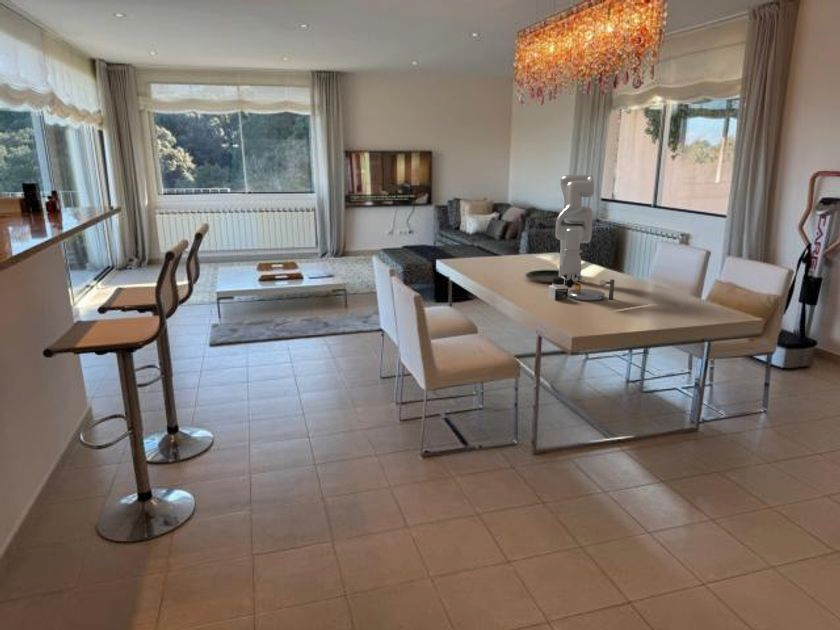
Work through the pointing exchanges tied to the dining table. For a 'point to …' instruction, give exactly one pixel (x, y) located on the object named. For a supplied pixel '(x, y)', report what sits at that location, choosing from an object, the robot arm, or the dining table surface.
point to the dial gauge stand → (611, 291)
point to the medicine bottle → (558, 289)
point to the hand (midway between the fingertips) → (569, 287)
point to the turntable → (585, 294)
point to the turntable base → (590, 301)
